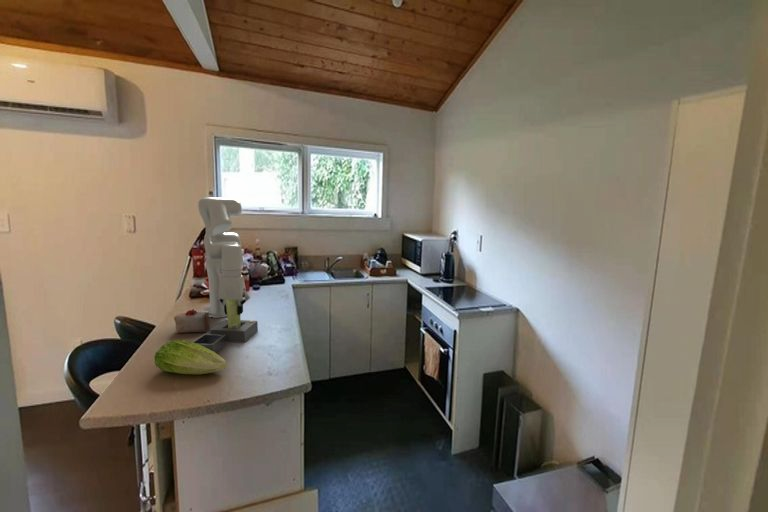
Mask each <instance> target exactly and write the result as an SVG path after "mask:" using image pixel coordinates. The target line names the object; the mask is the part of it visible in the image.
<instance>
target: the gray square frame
mask: <svg viewBox="0 0 768 512" xmlns="http://www.w3.org/2000/svg"><path fill="white" fill-rule="evenodd" d="M191 342H193V343H196V344H200V345H202V346H204V347H206V348H208V349H209V350H211V351H213V352H215V353H216V354H217V353H218V352H219V351H221V349H222V348H224V347H225V346H226V345H228V342H227V336H226V335H219V334H210V333H203V334H202V335H200V336H198V337H197V338H195V339H194V340H192V341H191Z"/></svg>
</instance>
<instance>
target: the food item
mask: <svg viewBox="0 0 768 512" xmlns="http://www.w3.org/2000/svg"><path fill="white" fill-rule="evenodd" d="M208 312H209V311H203V312H201V311H200V312H199V311H198V312H197V310H195V309H194V308H192V309H189V310H187V311H186V312H184V313H183V312H182V313H181V312H180V313H177V314H176V315H175V316H174V317H173V320H174V322H175V332H176V334H177V333H179V334H192V333H191V332H200V333H207V332H208V331H210V319H209V318H210V317H209V313H208ZM189 332H190V333H189Z"/></svg>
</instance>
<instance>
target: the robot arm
mask: <svg viewBox="0 0 768 512" xmlns="http://www.w3.org/2000/svg"><path fill="white" fill-rule="evenodd" d="M197 205H198V206H197V207H198V212H199V215H200V217H201V220H203V223H204V226H205V234H204V237H203V238H204V239H203V243H204V249H205V254H206V259H205V267H206V270H207V276H208V287H209V290H208V291H209V305H204V306H203V311H207V312H208V313H209V318H211V317H213V318H214V319H218V318H219V319H222V318H226V317H227V308H226V299H228V300H237V302H238V306H237V312H238V315H240V316H241V315H242V314H243V312H244V304H245V303H246V302H248V301H249V300H250V299H251V296H250V295H249V294H248V293H247V291H246V284H245V278H244V275H242V270H243V268H244V256H243V249H242V248H243V247H242V239H241V236H240V234H238V233H236V232H228V231H230V230H231V229H232V227H233V222H232V219H231V217H238V216H240V215H241V214H242V211H243V210H242V209H243V208H242V204H241V201H240V200H239V199H238V198H234V197H216V196H215V197H211V196H209V197H208V196H207V197H203V198H200V199H199V200H198V203H197ZM224 292H225V294H224ZM225 295H226V296H225ZM221 317H222V318H221Z"/></svg>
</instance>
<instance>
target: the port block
mask: <svg viewBox="0 0 768 512" xmlns="http://www.w3.org/2000/svg"><path fill="white" fill-rule="evenodd" d="M258 328H259V327H258V320H245V319H244V320H243V319H240V328H238V329H232V328H228V319H224V320H222V321H221V322H220V323H218V324H217V325H215V326H213V327H212V328H209V334H219V335H226V336H227V343H244V344H245V343H246V342H247V341H249V340H250V339H252V337H254V336H255V334H256V333H258V331H259V330H258Z"/></svg>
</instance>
